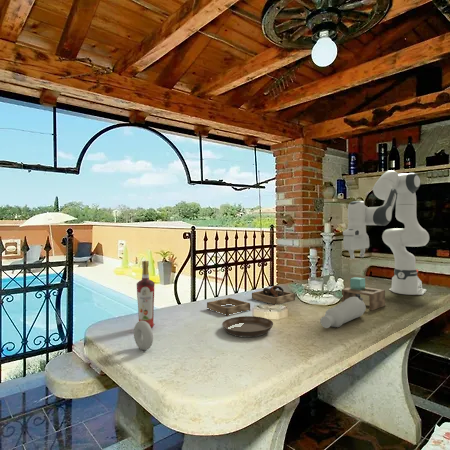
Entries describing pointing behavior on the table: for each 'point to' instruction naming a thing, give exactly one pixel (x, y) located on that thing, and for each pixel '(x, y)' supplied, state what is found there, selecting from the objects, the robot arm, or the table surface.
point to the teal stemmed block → (357, 285)
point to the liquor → (146, 296)
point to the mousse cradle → (237, 308)
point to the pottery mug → (273, 291)
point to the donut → (143, 335)
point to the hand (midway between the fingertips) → (357, 257)
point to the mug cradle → (273, 300)
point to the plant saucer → (248, 326)
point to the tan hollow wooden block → (374, 297)
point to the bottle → (343, 312)
